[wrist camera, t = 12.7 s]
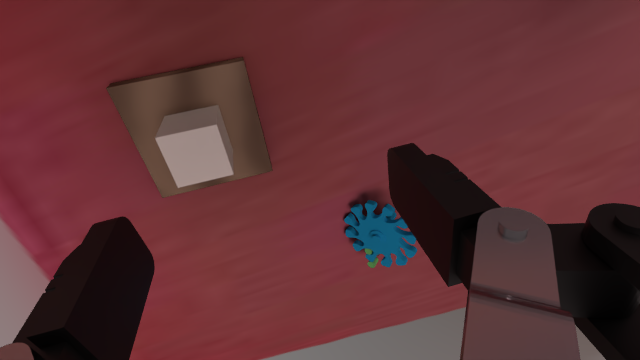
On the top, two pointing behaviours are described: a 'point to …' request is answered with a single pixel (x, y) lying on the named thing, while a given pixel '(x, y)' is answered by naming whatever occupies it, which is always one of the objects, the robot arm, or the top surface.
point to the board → (185, 95)
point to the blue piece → (380, 234)
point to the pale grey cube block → (196, 146)
